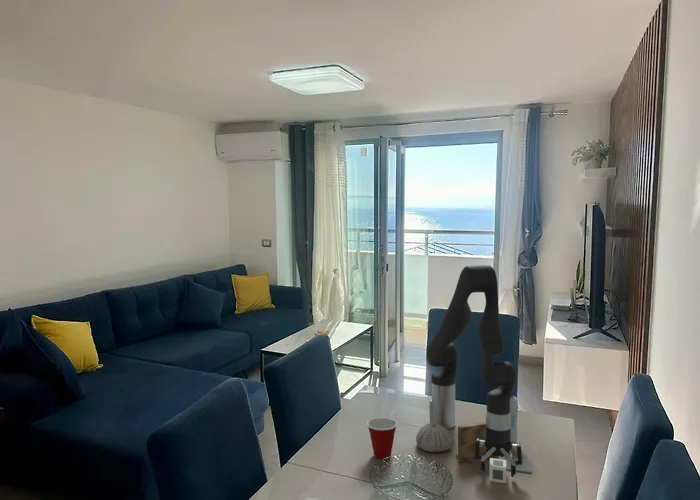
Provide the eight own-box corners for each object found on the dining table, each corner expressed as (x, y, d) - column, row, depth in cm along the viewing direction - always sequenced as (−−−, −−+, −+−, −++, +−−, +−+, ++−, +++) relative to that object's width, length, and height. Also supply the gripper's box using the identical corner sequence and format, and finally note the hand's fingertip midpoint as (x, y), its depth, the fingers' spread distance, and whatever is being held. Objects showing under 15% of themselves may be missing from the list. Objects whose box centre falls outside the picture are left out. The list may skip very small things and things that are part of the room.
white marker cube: (489, 472, 156) (490, 457, 155) (506, 474, 154) (506, 459, 154) (489, 481, 151) (489, 465, 150) (506, 483, 149) (506, 468, 149)
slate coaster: (505, 469, 157) (505, 468, 157) (505, 457, 165) (505, 456, 164) (531, 473, 154) (531, 471, 154) (530, 460, 162) (530, 459, 162)
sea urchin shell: (409, 449, 172) (409, 427, 171) (425, 434, 183) (425, 414, 182) (443, 459, 164) (443, 437, 164) (458, 443, 176) (458, 422, 175)
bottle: (519, 447, 172) (519, 393, 170) (499, 445, 173) (500, 392, 171) (516, 438, 178) (517, 386, 176) (497, 436, 179) (498, 385, 178)
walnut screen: (462, 464, 161) (462, 430, 160) (455, 457, 166) (455, 423, 165) (499, 458, 164) (499, 424, 163) (491, 451, 169) (491, 418, 168)
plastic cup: (398, 447, 173) (397, 415, 172) (397, 463, 162) (397, 429, 161) (368, 446, 174) (367, 415, 173) (365, 462, 163) (365, 428, 162)
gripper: (474, 426, 150) (474, 476, 151) (522, 432, 145) (522, 483, 147) (475, 416, 157) (475, 464, 158) (521, 421, 152) (521, 470, 154)
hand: (498, 473), depth 152 cm, fingers open, 8 cm apart
